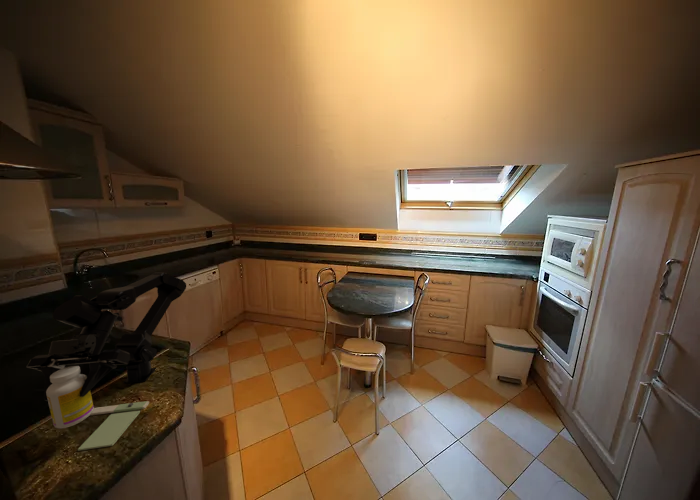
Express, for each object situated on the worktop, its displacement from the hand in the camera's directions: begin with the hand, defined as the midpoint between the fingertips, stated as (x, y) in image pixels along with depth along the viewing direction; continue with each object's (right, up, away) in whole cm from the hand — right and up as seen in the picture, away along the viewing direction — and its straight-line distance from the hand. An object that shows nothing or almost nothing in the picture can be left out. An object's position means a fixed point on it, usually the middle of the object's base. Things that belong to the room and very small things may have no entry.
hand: (64, 398), depth 57 cm
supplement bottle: (0, -7, +3) cm, 7 cm away
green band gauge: (+3, -11, +5) cm, 12 cm away
